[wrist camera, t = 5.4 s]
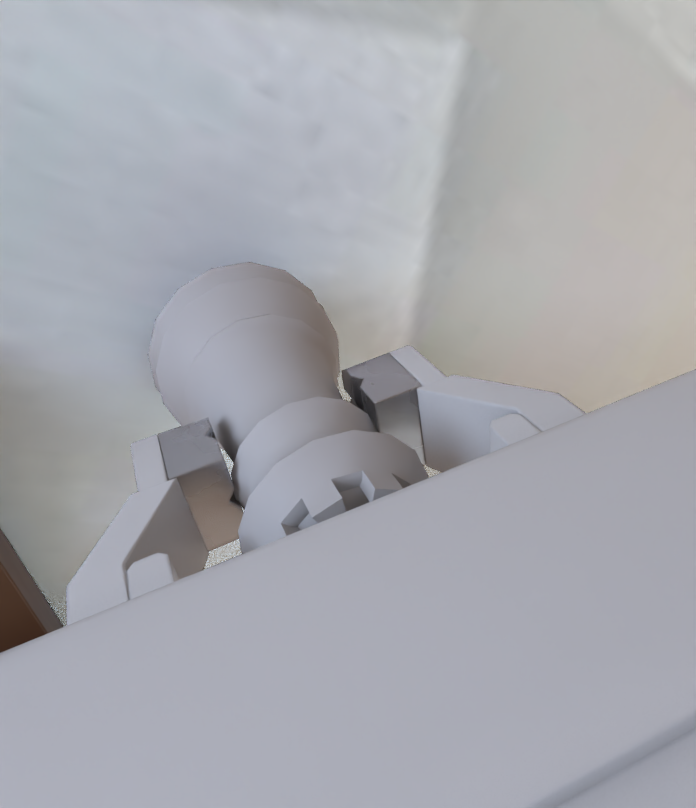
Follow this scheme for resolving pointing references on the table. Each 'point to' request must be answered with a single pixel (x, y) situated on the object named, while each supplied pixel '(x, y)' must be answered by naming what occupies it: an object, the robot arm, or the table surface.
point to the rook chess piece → (273, 400)
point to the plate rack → (21, 602)
